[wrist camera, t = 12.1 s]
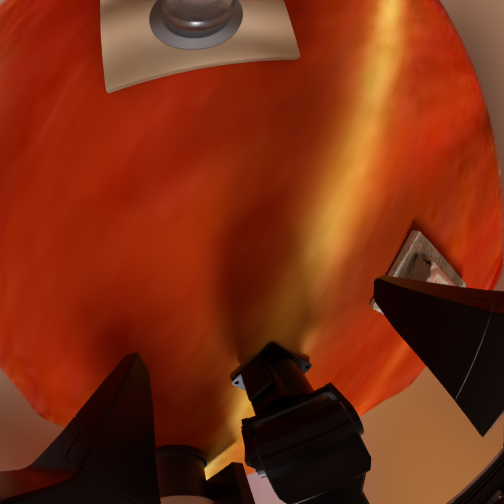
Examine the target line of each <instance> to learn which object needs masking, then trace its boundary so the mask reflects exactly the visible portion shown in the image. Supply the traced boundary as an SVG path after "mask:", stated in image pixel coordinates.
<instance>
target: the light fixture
mask: <svg viewBox="0 0 504 504" xmlns="http://www.w3.org/2000/svg"><path fill="white" fill-rule="evenodd" d="M156 463H157V474H158V483H159V492H160V500H161V504H255V501H254V498H253V495H252V492H251V489H250V486H249V483H248V480H247V476H246V473H245V470H244V467H243V464H242V463H237V462H232V463H230V464H229V465H228V466H226V467H225V468H224V469H222V470H221V471H219V472H218V473H217V474H215V475H214V476H212V477H211V478H210V479H208V480H207V481H206V477H205V471H204V468H205V467H206V466H207V458H206V455H205V453H204V452H202V451H201V450H199V449H197V448H194V447H190V446H183V445H169V446H163V447H159V448H157V449H156Z"/></svg>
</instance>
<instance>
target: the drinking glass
mask: <svg viewBox="0 0 504 504" xmlns="http://www.w3.org/2000/svg"><path fill="white" fill-rule="evenodd" d="M235 4H236V0H161V9H162V19H163V23H164V25H165V27H166V28H167V29H168V30H169V31H170V32H172V33H173V34H175V35H177V36H180V37H184V38H193V39H195V38H204V37H208V36H211V35H213V34H216V33H217V32H219V31H220V30H222V29H223V28H224V27H225V26H226V25H227V23H228V21H229V19H230V17H231V14H232V12H233V9H234V7H235Z"/></svg>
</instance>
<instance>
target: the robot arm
mask: <svg viewBox="0 0 504 504" xmlns="http://www.w3.org/2000/svg"><path fill="white" fill-rule="evenodd" d="M374 301H375V303H376V304H377V305H378V307H379V308H380V310H381V311H382V312H383V314H384V315H385V316H386V318H387V319H388V321H389V322H390V323H391V325H392V326H393V327H394V329H395V330H396V331H397V332H398V334H399V335H400V336H401V337H402V338H403V339H404V340H405V341H406V343H407V344H408V345H409V346H410V347H411V348H412V349H413V351H414V352H415V353H416V354H417V355H418V356H419V358H420V359H421V360H422V361H423V362H424V364H425V365H426V366H427V367H428V368H429V369H430V371H431V372H432V373H433V374H434V375H435V377H436V378H437V379H438V380H439V382H440V383H441V384H442V385H443V386H444V388H445V389H446V390H447V392H448V393H449V394H450V395H451V396H452V398H453V399H454V400H455V402H456V403H457V404H458V406H459V407H460V408H461V410H462V411H463V412H464V413H465V415H466V416H467V417H468V419H469V420H470V421H471V423H472V424H473V426H474V427H475V428H476V430H477V431H478V432H479V434H480V435H481V436H482V437H484V436H485V434H486V433H487V432H488V431H489V430H490V429H491V428H492V427H493V426H494V425H495V423H496V422H497V421H498V420H499V419H500V418H501V416H502V415H503V414H504V291H493V290H482V289H474V288H466V287H459V286H453V285H446V284H439V283H433V282H426V281H419V280H413V279H406V278H399V277H393V276H386V275H383V276H380V277H378V278H376V279H375V280H374ZM272 346H274V347H273V348H271V347H272ZM310 368H311V364H310V362H309V361H307V360H305V359H303V358H302V357H300V356H298V355H296V354H295V353H293V352H291V351H290V350H288V349H286V348H284V347H283V346H281V345H279V344H278V343H276V342H270V343H269V344H268V345H267V346H266V347H265V348H264V349H263V350H262V351H261V352H260V353H259V354H258V355H257V356H256V357H255V358H254V359H253V360H252V361H251V362H249V363H248V364H247V365H246V366H245V367H244V368H243V369H242V370H241V371H240V372H239V373H238V374H237V375H236V376H235V377H234V378H233V379H232V380H231V381H232V384H233V385H234V386H236V387H238V388H241V389H243V390H245V391H246V393H247V396H248V399H249V401H251V403H252V406H253V409H254V412H255V415H256V416H253V417H250V418H245V419H242V427H241V428H242V431H241V432H242V436H243V440H244V445H245V463H246V464H247V466H250V467H252V468H254V470H255V471H256V472H257V473H258V475H259V476H260V477H261V478H264V477H268V480H269V482H270V484H271V485H272V488H273V489H274V492H275V493H276V495H277V496H278V498H279V499H280V500H282V501H283V502H285V503H287V504H369V502H368V500H367V498H366V496H365V494H364V493H363V486H364V481H365V475H366V472H368V471H370V468H371V456H370V455H369V453H368V451H367V448H366V446H365V444H364V442H363V440H362V438H361V436H360V435H362V434H363V433H364V429H363V425H362V423H361V420H360V418H359V416H358V414H357V412H356V411H355V409H354V407H353V406H352V405H351V404H350V402H349V401H348V400H347V399H346V398H345V397H344V396H343V395H342V394H341V393H340V392H339V391H338V390H337V389H336V388H335V386H334V385H333V384H332V383H331V382H330V383H328V384H326V385H325V386H324V387H322V388H320V389H317V390H315V391H314V390H313V388H312V387H311V385H310V383H309V382H308V380H307V378H306V377H305V375H304V374H305V373H306V372H307V371H308V370H309V369H310ZM236 381H237V382H236ZM503 446H504V445H503ZM0 504H161V500H160V492H159V483H158V474H157V463H156V449H155V431H154V409H153V402H152V394H151V386H150V378H149V372H148V369H147V368H146V366H145V364H144V362H143V361H142V359H141V357H140V355H139V354H138V353H136V352H135V353H130V354H127V355H125V357H124V358H123V359H122V360H121V361H120V362H119V364H118V365H117V366H116V367H115V368H114V370H113V371H112V372H111V373H110V374H109V375H108V377H107V378H106V379H105V380H104V381H103V383H102V384H101V385H100V386H99V387H98V389H97V390H96V391H95V392H94V393H93V395H92V396H91V397H90V398H89V400H88V401H87V402H86V403H85V404H84V406H83V407H82V408H81V409H80V411H79V412H78V413H77V414H76V417H74V418H73V419H72V420H71V422H70V423H69V424H68V425H67V426H66V428H65V429H64V430H63V431H62V433H61V434H60V435H59V436H58V437H57V438H56V439H55V440H54V441H53V442H52V443H51V444H50V446H49V447H48V448H47V449H46V450H45V451H44V452H43V453H42V454H41V455H40V456H39V457H38V458H37V459H36V460H35V461H34V462H33V463H32V464H31V465H29V466H28V467H26V468H23V469H20V470H11V471H1V472H0ZM447 504H504V447H503V449H502V450H501V451H500V452H499V453H498V455H497V456H496V457H495V458H494V459H493V460H492V461H491V462H490V463H489V464H488V465H487V467H486V468H485V469H484V470H483V471H482V472H481V473H480V474H479V475H478V476H477V477H476V478H475V479H474V480H473V481H472V482H471V483H469V484H468V485H467V486H466V487H465V488H464V489H463V490H462V491H461V492H460V493H459V494H457V495H456V496H455V497H454V498H453V499H451V500H450V501H449V502H448V503H447Z"/></svg>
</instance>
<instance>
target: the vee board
mask: <svg viewBox="0 0 504 504" xmlns="http://www.w3.org/2000/svg"><path fill="white" fill-rule="evenodd" d="M100 23H101V44H102V57H103V67H104V77H105V85H106V91H107V92H108V93H111V92H114V91H117V90H120V89H123V88H126V87H129V86H132V85H135V84H139V83H142V82H145V81H149V80H153V79H156V78H160V77H164V76H168V75H172V74H177V73H181V72H186V71H191V70H196V69H202V68H207V67H214V66H220V65H227V64H235V63H244V62H255V61H270V60H297V59H298V58H299V57H301V56H300V53H299V49H298V45H297V42H296V38H295V35H294V31H293V28H292V25H291V21H290V18H289V15H288V12H287V9H286V6H285V3H284V0H236V4H235V7H234V9H233V12H232V14H231V17H230V19H229V21H228V23H227V25H226V26H225V27H224V28H223V29H222V30H220V31H219V32H217V33H216V34H213V35H211V36H208V37H204V38H195V39H193V38H184V37H180V36H177V35H175V34H173V33H172V32H170V31H169V30H168V29H167V28H166V27H165V25H164V23H163V19H162V9H161V0H100Z"/></svg>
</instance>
